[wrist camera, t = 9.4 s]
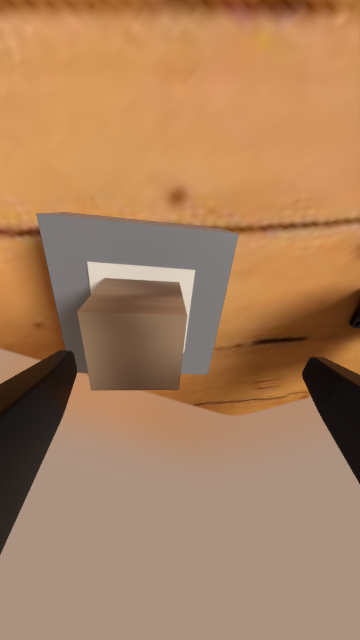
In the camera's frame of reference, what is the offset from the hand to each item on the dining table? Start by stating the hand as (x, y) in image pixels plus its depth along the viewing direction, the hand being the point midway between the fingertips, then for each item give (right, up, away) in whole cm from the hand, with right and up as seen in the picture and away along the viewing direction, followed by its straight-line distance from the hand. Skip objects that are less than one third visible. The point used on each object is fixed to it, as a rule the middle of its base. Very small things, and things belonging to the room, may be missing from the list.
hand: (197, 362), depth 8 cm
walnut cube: (-3, +2, +7) cm, 8 cm away
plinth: (-4, +4, +11) cm, 12 cm away
